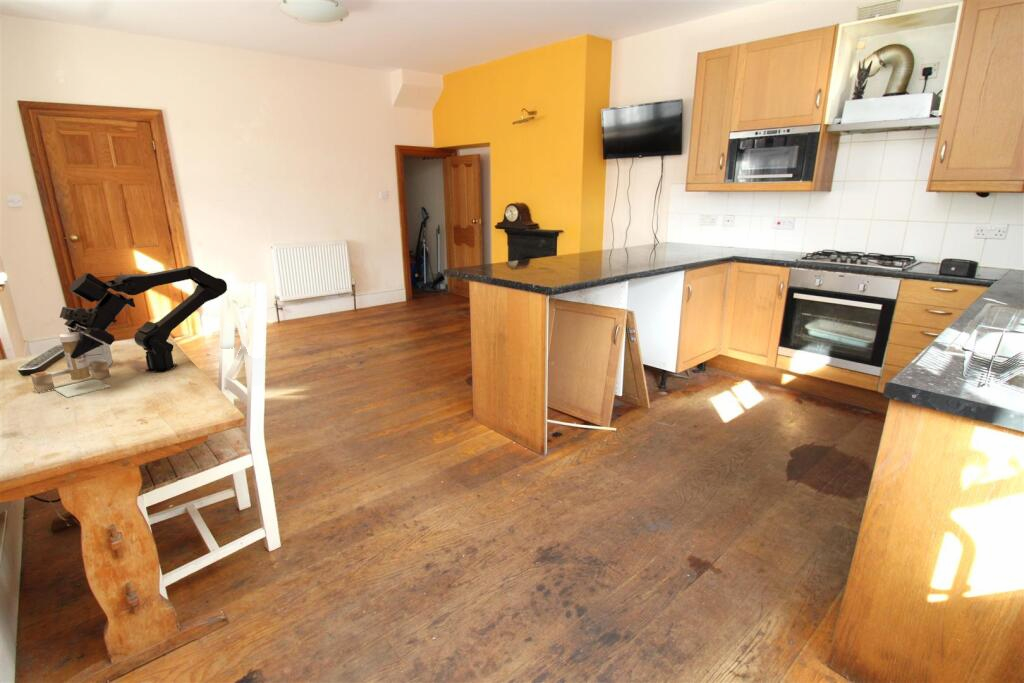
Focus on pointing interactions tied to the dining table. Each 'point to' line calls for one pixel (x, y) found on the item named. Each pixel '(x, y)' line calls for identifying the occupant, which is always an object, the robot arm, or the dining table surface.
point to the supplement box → (100, 354)
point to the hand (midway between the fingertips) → (69, 356)
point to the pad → (81, 388)
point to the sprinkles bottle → (79, 364)
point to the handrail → (45, 382)
